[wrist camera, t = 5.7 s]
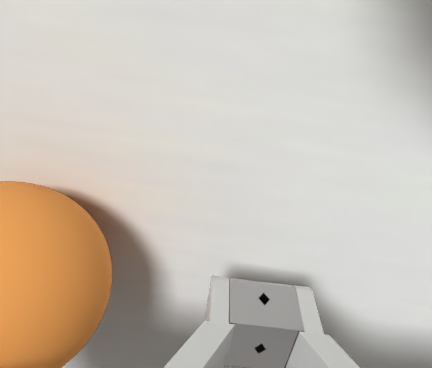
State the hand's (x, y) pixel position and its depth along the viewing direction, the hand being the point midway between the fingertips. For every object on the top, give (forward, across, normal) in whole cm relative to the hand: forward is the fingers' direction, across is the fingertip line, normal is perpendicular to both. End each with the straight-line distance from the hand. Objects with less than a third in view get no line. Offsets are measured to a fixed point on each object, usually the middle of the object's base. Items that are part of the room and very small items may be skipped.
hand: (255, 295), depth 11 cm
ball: (-1, -7, 0) cm, 7 cm away
